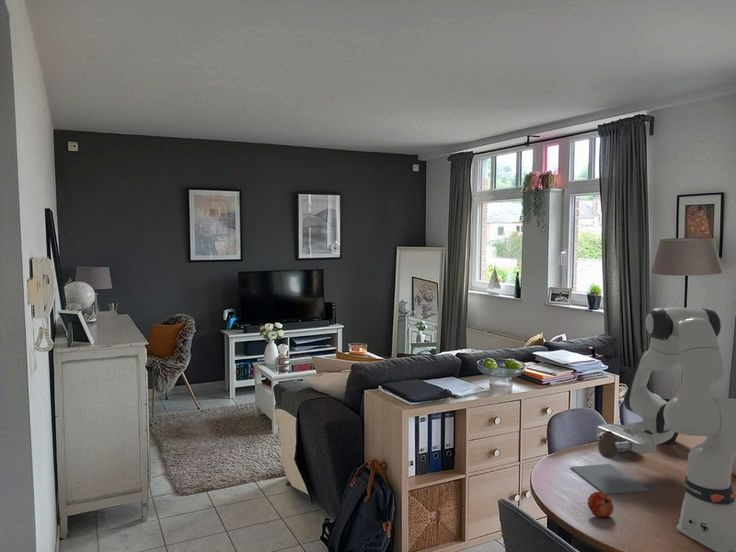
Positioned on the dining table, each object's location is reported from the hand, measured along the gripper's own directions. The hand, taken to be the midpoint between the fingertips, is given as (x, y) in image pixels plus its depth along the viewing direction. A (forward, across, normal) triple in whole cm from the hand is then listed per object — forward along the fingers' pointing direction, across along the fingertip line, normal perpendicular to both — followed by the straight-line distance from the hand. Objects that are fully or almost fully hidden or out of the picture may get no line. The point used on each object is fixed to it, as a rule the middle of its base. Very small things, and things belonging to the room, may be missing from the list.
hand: (606, 441), depth 205 cm
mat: (-1, 0, +14) cm, 14 cm away
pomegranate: (+22, +19, +14) cm, 32 cm away
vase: (-1, 0, +6) cm, 6 cm away
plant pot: (-53, -19, +15) cm, 58 cm away
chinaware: (-27, -20, +14) cm, 37 cm away
